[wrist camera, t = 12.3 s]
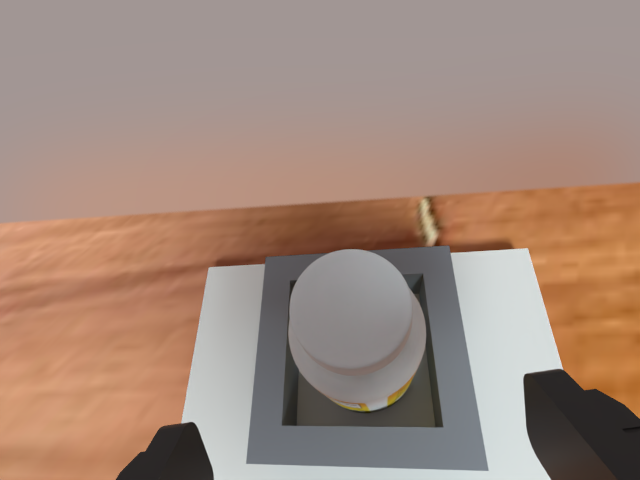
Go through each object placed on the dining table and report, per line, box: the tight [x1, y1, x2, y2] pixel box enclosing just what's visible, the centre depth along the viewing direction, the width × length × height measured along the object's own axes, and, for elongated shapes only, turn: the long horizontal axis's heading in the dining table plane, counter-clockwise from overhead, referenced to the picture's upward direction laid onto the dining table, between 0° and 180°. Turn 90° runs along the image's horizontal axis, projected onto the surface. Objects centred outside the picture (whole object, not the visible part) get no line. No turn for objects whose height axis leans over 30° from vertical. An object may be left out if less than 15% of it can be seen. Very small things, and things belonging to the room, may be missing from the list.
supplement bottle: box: [288, 249, 426, 413], centre depth 16 cm, size 5×5×10 cm
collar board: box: [181, 246, 563, 480], centre depth 19 cm, size 20×12×4 cm, turn 89°
